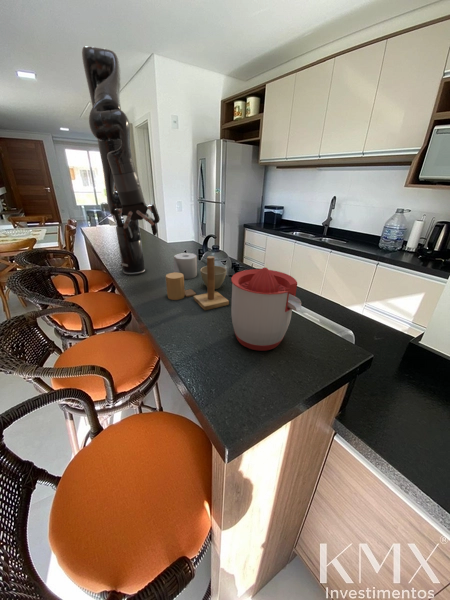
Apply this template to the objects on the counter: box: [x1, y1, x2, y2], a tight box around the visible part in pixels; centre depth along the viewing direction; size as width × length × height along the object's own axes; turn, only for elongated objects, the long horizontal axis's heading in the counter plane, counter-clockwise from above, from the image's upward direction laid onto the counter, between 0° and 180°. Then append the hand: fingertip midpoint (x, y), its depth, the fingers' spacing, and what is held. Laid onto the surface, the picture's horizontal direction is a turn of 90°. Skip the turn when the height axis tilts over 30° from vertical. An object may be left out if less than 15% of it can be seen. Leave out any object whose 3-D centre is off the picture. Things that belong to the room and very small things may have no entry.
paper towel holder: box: [193, 255, 230, 311], centre depth 82 cm, size 9×9×16 cm
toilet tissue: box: [173, 252, 198, 280], centre depth 105 cm, size 9×13×9 cm
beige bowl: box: [200, 265, 228, 290], centre depth 96 cm, size 10×10×7 cm
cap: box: [165, 272, 198, 301], centre depth 88 cm, size 10×6×8 cm, turn 119°
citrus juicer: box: [230, 267, 302, 352], centre depth 62 cm, size 16×17×20 cm
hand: (143, 236), depth 89 cm, fingers open, 8 cm apart
